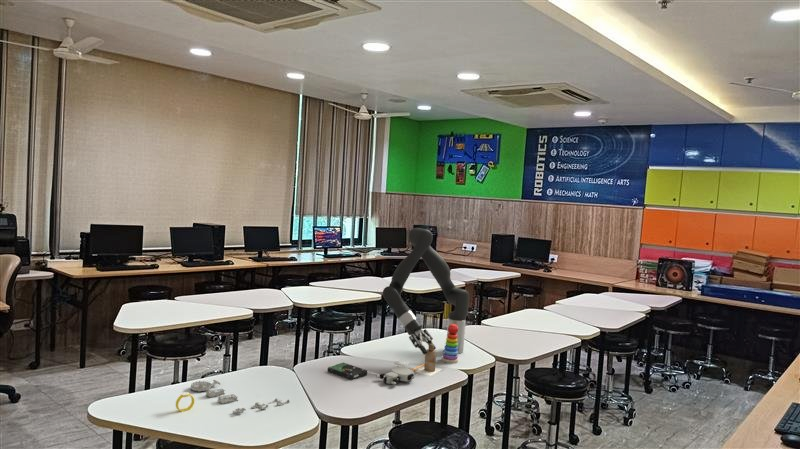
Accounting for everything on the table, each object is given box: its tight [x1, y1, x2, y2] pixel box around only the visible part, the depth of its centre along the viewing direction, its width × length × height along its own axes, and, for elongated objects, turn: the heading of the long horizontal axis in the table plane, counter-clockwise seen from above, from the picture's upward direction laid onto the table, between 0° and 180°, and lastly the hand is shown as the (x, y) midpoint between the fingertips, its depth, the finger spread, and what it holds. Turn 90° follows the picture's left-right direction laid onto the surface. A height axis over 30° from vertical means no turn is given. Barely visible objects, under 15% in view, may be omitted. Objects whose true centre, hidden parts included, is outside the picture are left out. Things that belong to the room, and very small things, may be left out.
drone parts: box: [190, 379, 290, 414], centre depth 201 cm, size 23×35×3 cm, turn 48°
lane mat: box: [393, 360, 443, 377], centre depth 248 cm, size 15×25×1 cm, turn 60°
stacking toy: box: [441, 324, 459, 364], centre depth 262 cm, size 8×8×19 cm
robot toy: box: [376, 365, 419, 386], centre depth 229 cm, size 12×4×15 cm
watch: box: [175, 391, 195, 412], centre depth 184 cm, size 6×3×6 cm, turn 136°
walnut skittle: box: [423, 343, 437, 372], centre depth 245 cm, size 5×5×12 cm
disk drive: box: [326, 362, 368, 381], centre depth 234 cm, size 10×3×15 cm
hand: (430, 351), depth 245 cm, fingers open, 8 cm apart
